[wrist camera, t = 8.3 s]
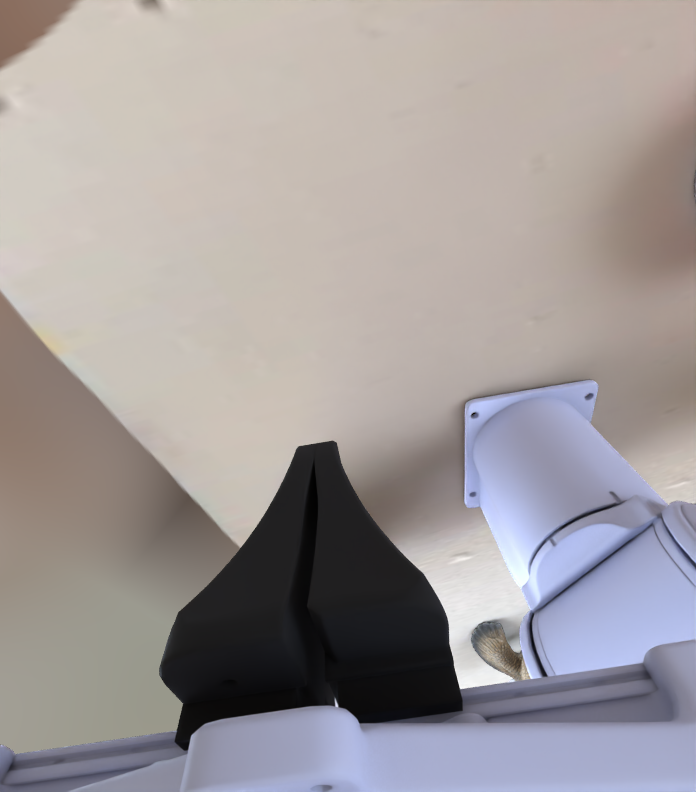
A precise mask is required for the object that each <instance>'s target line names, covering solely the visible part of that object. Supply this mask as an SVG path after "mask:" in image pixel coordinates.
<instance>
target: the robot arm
mask: <svg viewBox="0 0 696 792" xmlns="http://www.w3.org/2000/svg"><path fill="white" fill-rule="evenodd" d="M597 392H598V384H597V383H596V382H595V381H593V380H585V381H579V382H573V383H567V384H561V385H555V386H549V387H543V388H537V389H531V390H525V391H519V392H513V393H507V394H501V395H495V396H489V397H483V398H477V399H472V400H470V401H468V402H467V403H466V405H465V483H464V502H465V504H466V506H467V507H468V508H476V507H481V509H482V511H483V513H484V516H485V518H486V520H487V522H488V525H489V527H490V529H491V531H492V533H493V536H494V538H495V540H496V542H497V545H498V547H499V549H500V551H501V554H502V556H503V558H504V560H505V563H506V565H507V567H508V569H509V572H510V574H511V575H512V577H513V579H514V580H515V582H516V583H517V584H518V585H519V587H520V588H521V590H522V592H523V595H524V597H525V599H526V601H527V603H528V606H529V608H530V610H531V611H529V612H528V613H527V614H526V615H525V616H524V618H523V620H522V622H521V626H520V644H521V649H522V654H523V657H524V661H525V664H526V667H527V670H528V673H529V676H530V678H531V679H528V680H521V681H514V682H507V683H501V684H494V685H487V686H480V687H473V688H466V689H460V688H459V684H458V680H457V676H456V672H455V669H454V661H453V656H452V652H451V649H450V645H449V624H448V619H447V616H446V613H445V611H444V609H443V606H442V604H441V602H440V600H439V599H438V597H437V595H436V593H435V592H434V590H433V588H432V587H431V585H430V583H429V582H428V580H427V579H426V577H425V575H424V574H423V573H422V572H421V571H420V570H419V569H418V568H417V567H416V566H414V565H413V564H412V563H411V562H410V561H409V560H408V559H407V558H406V557H405V556H404V555H403V554H402V553H401V552H400V551H399V550H398V549H397V548H396V546H395V545H394V544H393V543H392V542H391V541H390V540H389V538H388V537H387V536H386V535H385V534H384V533H383V531H382V530H381V529H380V528H379V526H378V525H377V524H376V522H375V521H374V520H373V519H372V517H371V516H370V514H369V513H368V511H367V510H366V509H365V507H364V506H363V504H362V502H361V501H360V499H359V498H358V496H357V494H356V492H355V491H354V489H353V487H352V485H351V483H350V481H349V479H348V477H347V475H346V473H345V471H344V469H343V466H342V464H341V460H340V455H339V451H338V446H337V443H336V442H334V441H328V442H322V443H316V444H310V445H304V446H299V447H298V448H297V449H296V452H295V454H294V457H293V459H292V462H291V464H290V467H289V469H288V471H287V473H286V475H285V478H284V480H283V482H282V484H281V486H280V488H279V490H278V492H277V493H276V495H275V497H274V499H273V501H272V502H271V504H270V506H269V508H268V509H267V511H266V513H265V514H264V516H263V517H262V519H261V521H260V522H259V524H258V525H257V527H256V528H255V529H254V531H253V532H252V534H251V535H250V537H249V538H248V539H247V541H246V542H245V543H244V544H243V546H242V547H241V548H240V550H239V551H238V552H237V553H236V555H235V556H234V557H233V558H232V559H231V561H230V562H229V563H228V564H227V565H226V566H225V567H224V568H223V570H222V571H221V572H220V573H219V574H218V575H217V576H216V577H215V578H214V579H213V580H212V581H211V582H210V583H209V585H208V586H207V587H205V589H204V590H202V591H201V592H200V593H199V594H198V595H197V596H196V597H195V598H194V599H193V600H192V601H191V602H189V603H188V604H187V605H186V606H185V607H184V608H183V609H182V610H181V611H179V612H178V615H177V617H176V620H175V622H174V625H173V627H172V629H171V632H170V635H169V638H168V641H167V644H166V648H165V651H164V654H163V658H162V661H161V665H160V668H159V672H160V673H159V674H160V677H161V678H162V680H163V682H164V683H165V685H166V686H167V687H168V688H169V689H170V690H171V691H172V692H173V693H174V694H175V695H176V696H177V697H178V698H179V700H180V701H181V702H182V703H183V707H182V711H181V715H180V719H179V724H178V728H177V731H171V732H164V733H157V734H150V735H144V736H137V737H130V738H123V739H116V740H109V741H103V742H96V743H88V744H82V745H75V746H68V747H61V748H55V749H47V750H41V751H34V752H27V753H20V754H15V753H14V751H12V750H11V749H10V748H8V747H6V746H4V745H1V744H0V792H696V504H692V503H687V502H683V501H674V502H671V503H670V505H668V504H667V503H666V502H665V501H664V500H663V499H662V498H661V497H660V496H659V495H658V494H657V493H656V492H655V491H654V490H653V489H652V487H651V486H650V485H649V484H648V483H647V482H646V481H645V480H644V479H643V478H642V477H641V476H640V475H639V474H638V473H637V472H636V471H635V470H634V469H633V468H632V467H631V466H630V465H629V464H628V462H627V461H626V460H625V459H624V458H623V457H622V456H621V455H620V454H619V453H618V452H617V451H616V450H615V449H614V448H613V447H612V446H611V445H610V444H609V443H608V442H607V441H606V440H605V439H604V438H603V436H602V435H601V434H600V433H599V432H598V431H597V430H596V429H595V428H594V427H593V426H592V425H591V424H590V423H591V419H592V414H593V410H594V406H595V401H596V397H597ZM587 394H589V395H587ZM586 395H587V396H586ZM474 412H476V414H475V415H471V414H472V413H474ZM471 492H472V493H471ZM335 699H336V702H337V704H338V707H335Z"/></svg>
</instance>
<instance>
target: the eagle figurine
mask: <svg viewBox="0 0 696 792" xmlns="http://www.w3.org/2000/svg"><path fill="white" fill-rule="evenodd" d="M474 633H475V634H472V637H473V638H471V641H472V644H473V648H474V649H475V651H476V652H477V653H478V655H479V656H480V657H481V658H482V659H483V660H484V661H485V662H486V663H487V664H489V665H490V666H492V667H493V668H494V669H497V670H498V671H500V672H502V673H505V674H506V675H509V676H510V677H512V678H513V679H511V680H510V681H509V682H514V681H521V680H528V679H531V678H530V676H529V673H528V670H527V667H526V664H525V661H524V657H523V654H522V650H521V652H520V653H515V652H514V651H513V650H512V649H511V647H510V646H509V644H508V643H507V641H506V638H505V634H504V631H503V628H502V626H501V624H500V623H498V624H495V623H494V622H491V623H487V622H484V623H483V624H479V625H478V629H475V630H474Z"/></svg>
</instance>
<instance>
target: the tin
mask: <svg viewBox="0 0 696 792" xmlns="http://www.w3.org/2000/svg"><path fill="white" fill-rule="evenodd" d="M694 196H695V202H696V172H695V180H694Z"/></svg>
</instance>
